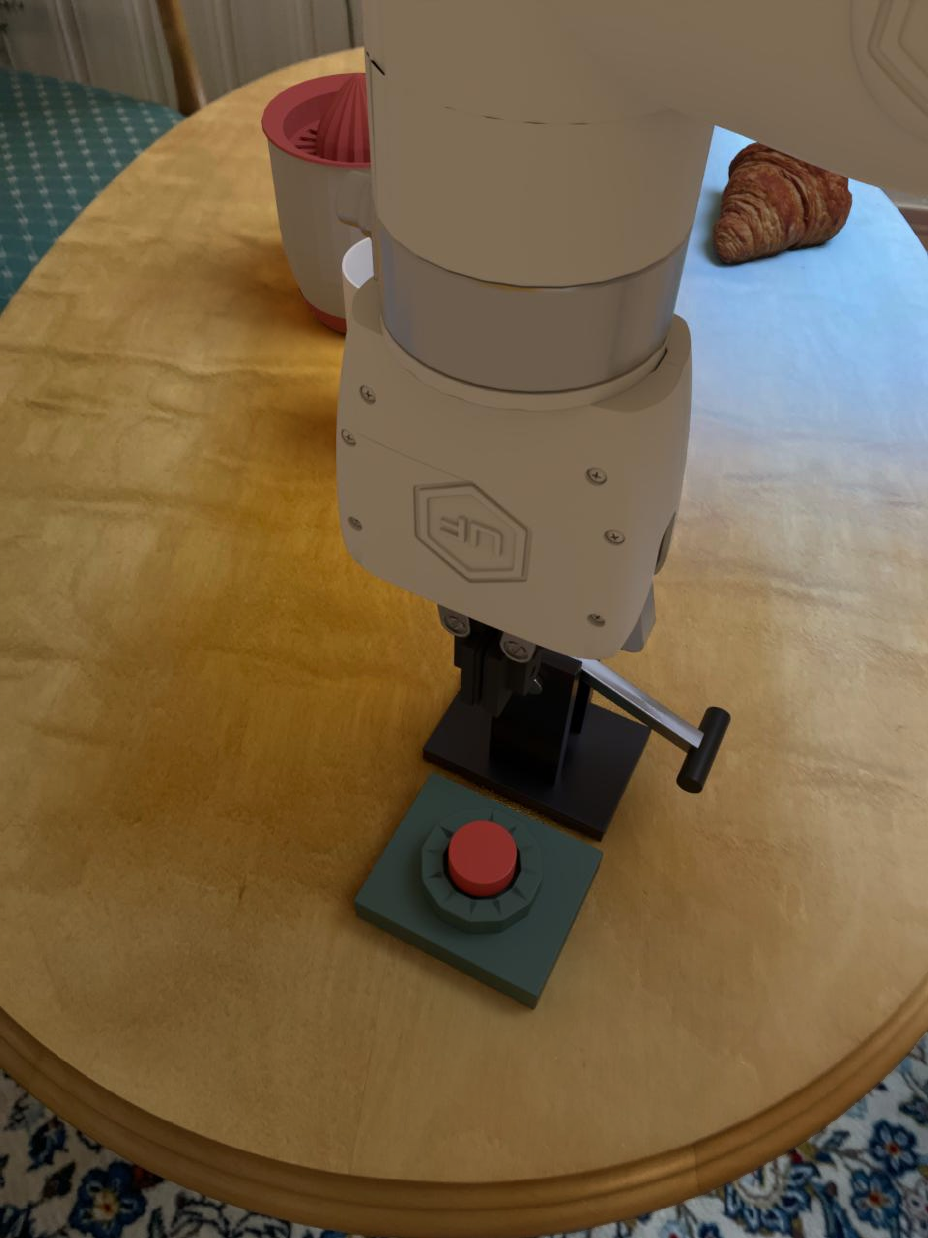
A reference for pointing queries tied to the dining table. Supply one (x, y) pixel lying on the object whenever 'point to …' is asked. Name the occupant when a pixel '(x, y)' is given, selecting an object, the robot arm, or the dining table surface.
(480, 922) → the button box
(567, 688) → the bracket
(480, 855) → the button
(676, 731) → the lever
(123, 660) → the dining table surface
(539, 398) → the robot arm
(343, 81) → the citrus juicer
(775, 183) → the pastry
